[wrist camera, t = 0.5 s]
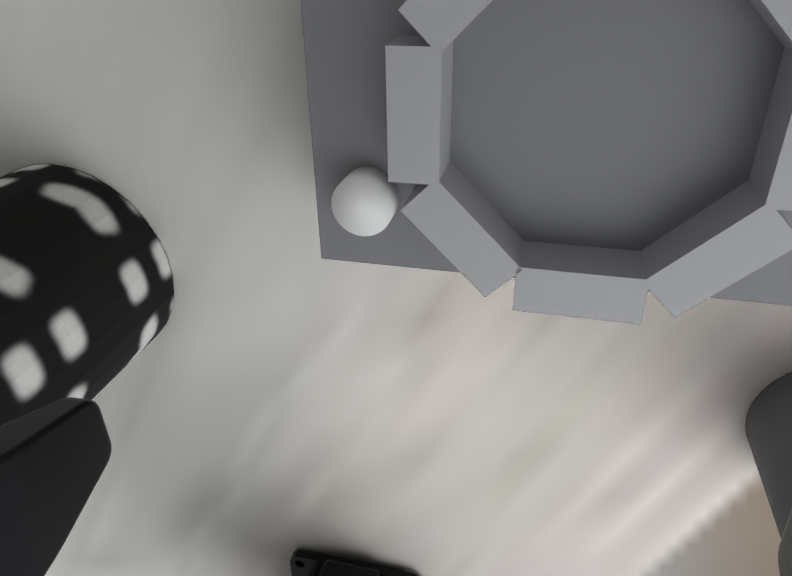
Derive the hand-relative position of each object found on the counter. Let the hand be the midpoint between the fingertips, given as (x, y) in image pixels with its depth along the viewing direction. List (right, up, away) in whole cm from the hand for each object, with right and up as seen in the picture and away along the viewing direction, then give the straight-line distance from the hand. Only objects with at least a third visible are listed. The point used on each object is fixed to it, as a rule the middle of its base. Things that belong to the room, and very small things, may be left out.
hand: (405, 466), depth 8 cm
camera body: (+5, +8, +10) cm, 14 cm away
